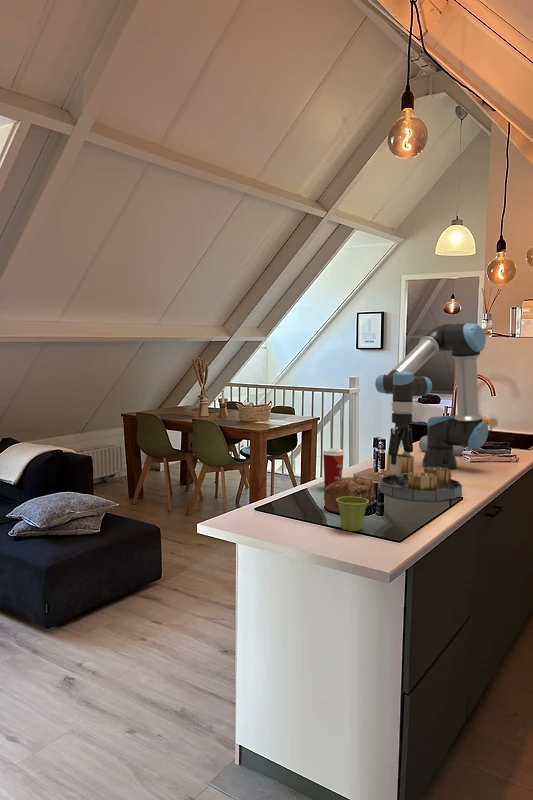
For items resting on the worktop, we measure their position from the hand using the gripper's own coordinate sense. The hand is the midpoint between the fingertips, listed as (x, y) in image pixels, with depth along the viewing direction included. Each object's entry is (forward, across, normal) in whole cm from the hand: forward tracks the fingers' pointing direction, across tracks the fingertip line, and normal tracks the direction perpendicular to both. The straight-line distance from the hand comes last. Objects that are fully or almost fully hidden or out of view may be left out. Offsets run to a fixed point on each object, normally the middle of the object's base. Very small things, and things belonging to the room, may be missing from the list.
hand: (400, 470), depth 234 cm
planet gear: (0, 0, 0) cm, 0 cm away
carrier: (+7, 0, +8) cm, 11 cm away
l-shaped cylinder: (+7, -85, -18) cm, 87 cm away
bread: (+7, +37, -1) cm, 37 cm away
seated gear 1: (+5, +7, +12) cm, 15 cm away
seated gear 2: (+5, -7, +12) cm, 15 cm away
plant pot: (+7, +58, +12) cm, 60 cm away
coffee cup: (+7, +18, -19) cm, 27 cm away
